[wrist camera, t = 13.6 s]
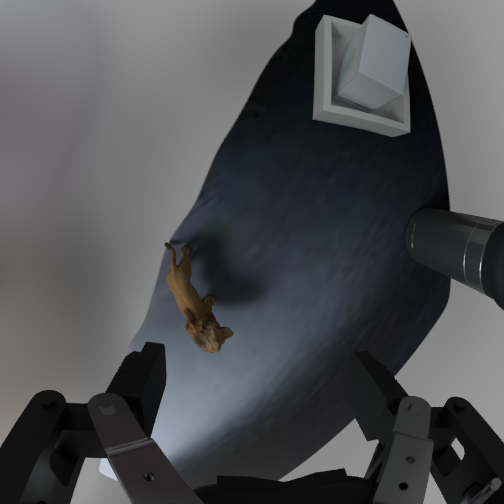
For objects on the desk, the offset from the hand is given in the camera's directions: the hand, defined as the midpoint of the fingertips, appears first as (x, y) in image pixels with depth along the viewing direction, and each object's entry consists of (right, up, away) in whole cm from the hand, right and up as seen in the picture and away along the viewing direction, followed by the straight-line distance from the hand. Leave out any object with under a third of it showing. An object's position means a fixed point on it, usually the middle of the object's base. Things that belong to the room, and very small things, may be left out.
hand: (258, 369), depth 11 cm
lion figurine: (-8, 0, +29) cm, 30 cm away
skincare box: (+15, +30, +22) cm, 41 cm away
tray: (+15, +31, +23) cm, 41 cm away
